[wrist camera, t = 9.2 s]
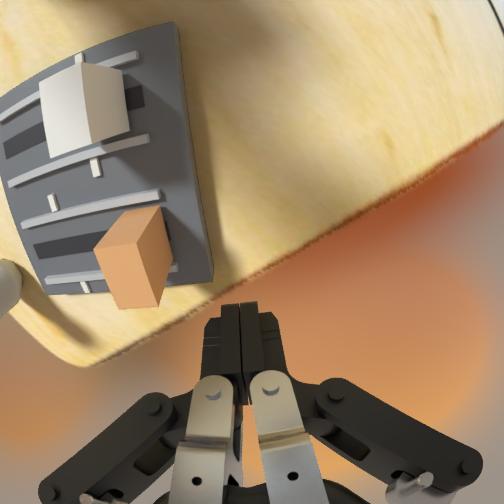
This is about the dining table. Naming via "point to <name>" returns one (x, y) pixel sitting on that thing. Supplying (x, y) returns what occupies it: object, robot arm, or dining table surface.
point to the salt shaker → (9, 286)
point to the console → (107, 168)
